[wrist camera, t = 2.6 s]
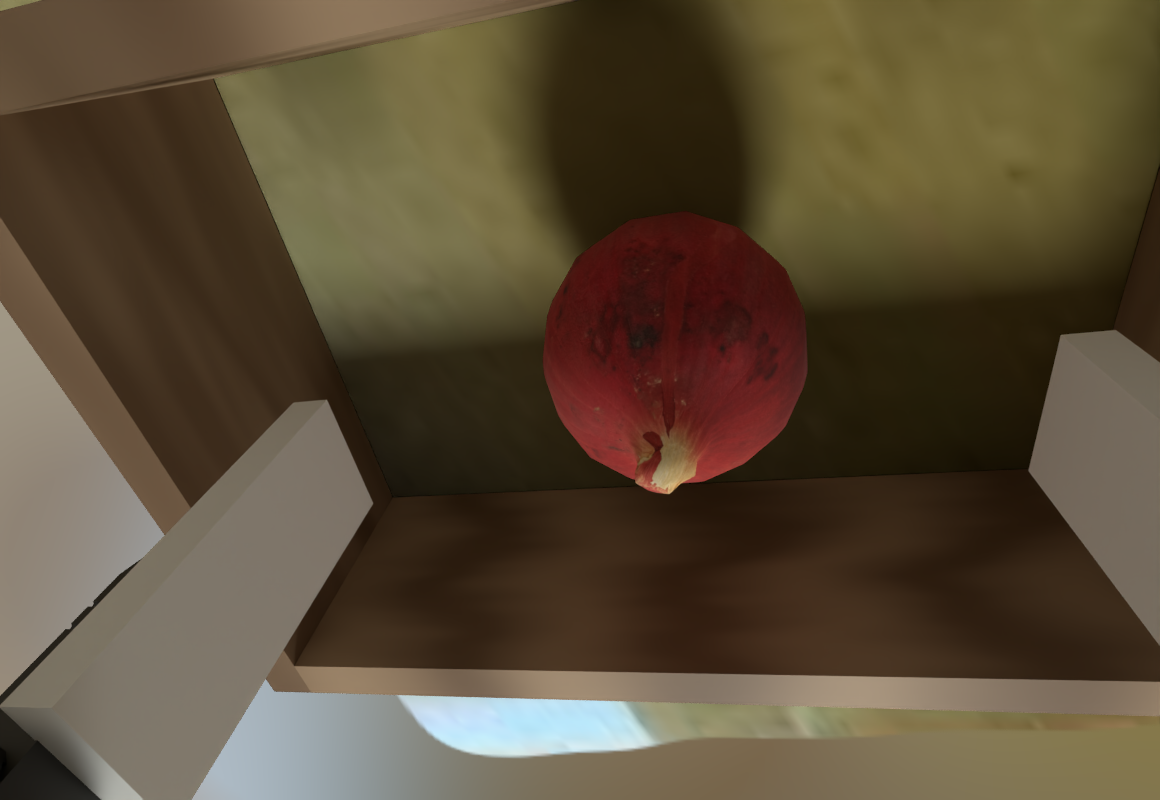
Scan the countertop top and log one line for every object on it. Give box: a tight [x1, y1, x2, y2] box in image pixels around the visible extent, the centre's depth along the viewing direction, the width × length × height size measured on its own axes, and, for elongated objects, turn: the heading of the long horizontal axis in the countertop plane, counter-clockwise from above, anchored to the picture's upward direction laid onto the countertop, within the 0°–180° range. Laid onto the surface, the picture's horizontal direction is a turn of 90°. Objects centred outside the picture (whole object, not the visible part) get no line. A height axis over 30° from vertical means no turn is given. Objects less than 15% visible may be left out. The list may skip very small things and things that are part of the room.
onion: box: [543, 211, 808, 494], centre depth 14 cm, size 6×6×8 cm
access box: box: [0, 0, 1160, 716], centre depth 14 cm, size 24×16×7 cm
